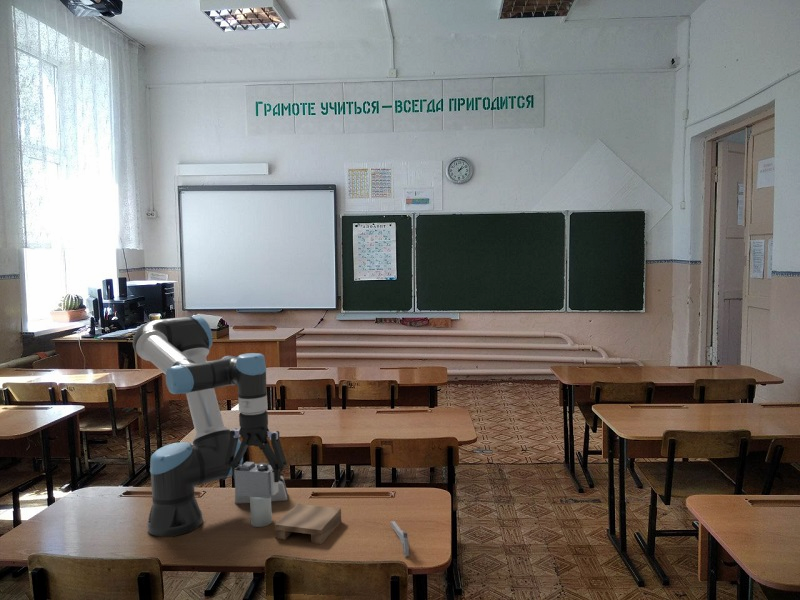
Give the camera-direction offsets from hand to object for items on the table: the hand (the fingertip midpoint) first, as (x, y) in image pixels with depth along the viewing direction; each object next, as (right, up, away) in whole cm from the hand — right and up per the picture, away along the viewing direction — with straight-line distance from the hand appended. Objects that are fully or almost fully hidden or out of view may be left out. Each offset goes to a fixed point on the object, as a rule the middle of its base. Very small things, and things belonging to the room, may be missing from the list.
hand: (257, 491), depth 162 cm
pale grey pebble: (-2, -14, +14) cm, 20 cm away
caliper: (+39, -14, +2) cm, 41 cm away
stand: (+13, -14, +9) cm, 21 cm away
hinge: (-6, -13, +30) cm, 33 cm away
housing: (0, 0, 0) cm, 0 cm away
